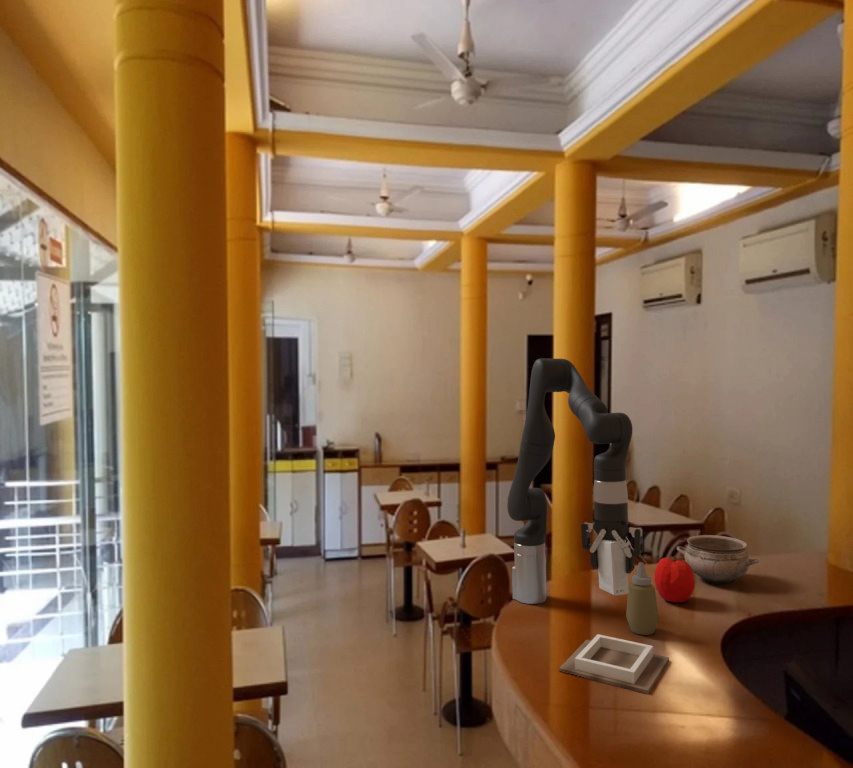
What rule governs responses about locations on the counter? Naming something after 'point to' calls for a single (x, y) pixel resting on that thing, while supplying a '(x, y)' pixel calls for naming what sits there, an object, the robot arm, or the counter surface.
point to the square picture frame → (611, 670)
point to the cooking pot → (717, 557)
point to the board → (621, 660)
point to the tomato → (674, 579)
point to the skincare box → (612, 568)
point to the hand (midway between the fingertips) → (612, 570)
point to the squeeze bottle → (642, 603)
